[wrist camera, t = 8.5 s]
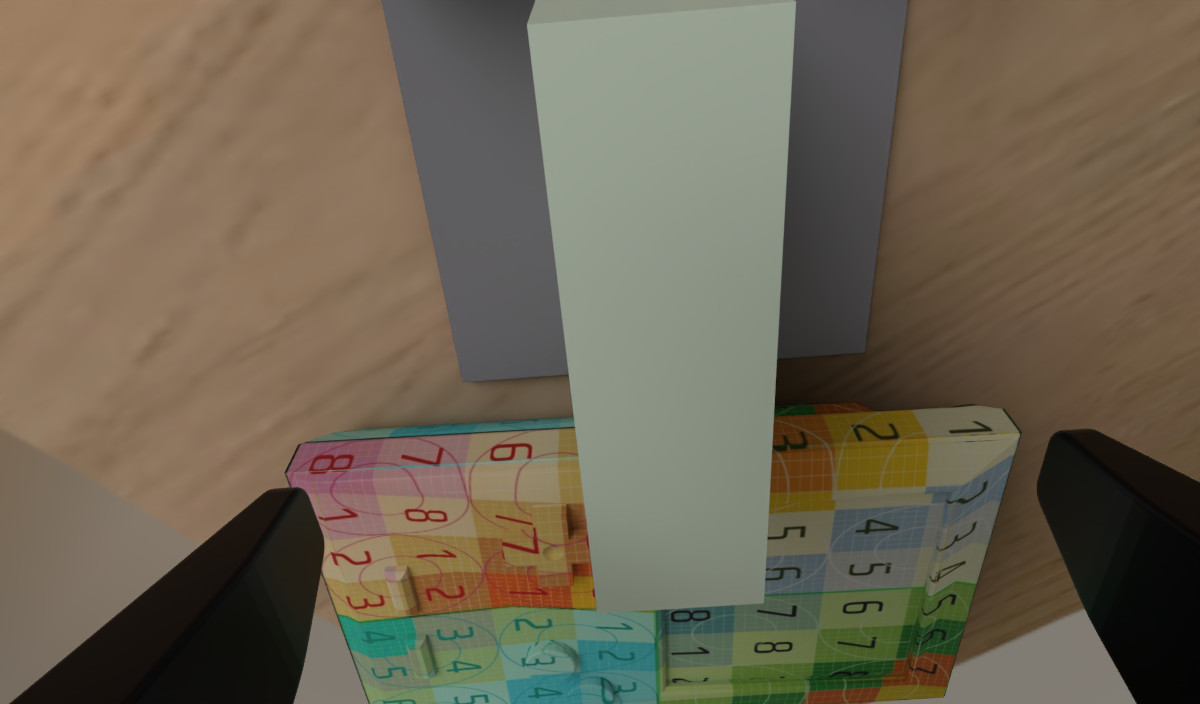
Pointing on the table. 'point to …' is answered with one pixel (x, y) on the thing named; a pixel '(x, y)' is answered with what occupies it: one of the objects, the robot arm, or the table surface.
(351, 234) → the table surface
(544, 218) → the mat
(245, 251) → the table surface
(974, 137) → the table surface
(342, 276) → the table surface
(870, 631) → the puzzle game
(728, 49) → the board
